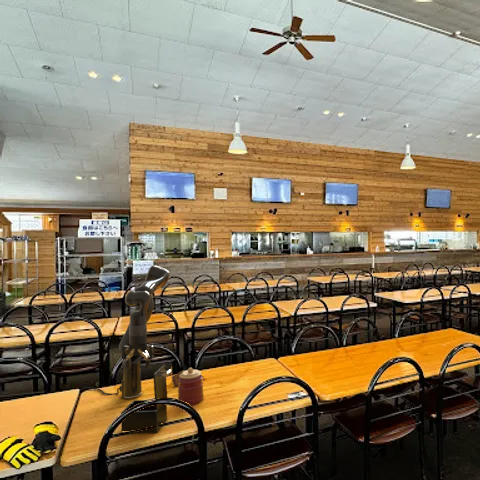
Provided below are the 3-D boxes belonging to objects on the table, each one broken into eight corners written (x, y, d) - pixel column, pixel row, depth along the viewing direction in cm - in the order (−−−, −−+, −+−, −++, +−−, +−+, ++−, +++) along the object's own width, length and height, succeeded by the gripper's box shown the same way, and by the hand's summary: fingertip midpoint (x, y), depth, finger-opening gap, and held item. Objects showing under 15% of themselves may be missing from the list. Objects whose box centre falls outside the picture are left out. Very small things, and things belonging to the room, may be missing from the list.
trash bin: (121, 434, 169) (121, 412, 169) (134, 420, 182) (133, 400, 182) (156, 432, 170) (156, 411, 170) (167, 419, 182) (166, 399, 182)
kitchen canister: (205, 394, 211) (204, 363, 210) (201, 404, 198) (200, 371, 198) (181, 396, 209) (180, 364, 209) (175, 406, 196) (174, 372, 196)
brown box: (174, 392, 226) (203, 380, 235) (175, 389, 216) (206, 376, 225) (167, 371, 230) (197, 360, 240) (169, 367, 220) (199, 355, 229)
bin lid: (153, 374, 170) (164, 373, 170) (163, 364, 182) (174, 363, 182) (155, 410, 170) (167, 409, 170) (165, 398, 182) (176, 397, 182)
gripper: (156, 331, 182) (156, 365, 182) (126, 331, 181) (126, 365, 181) (149, 335, 174) (150, 370, 174) (118, 335, 174) (118, 370, 174)
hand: (138, 367), depth 178 cm, fingers open, 8 cm apart
